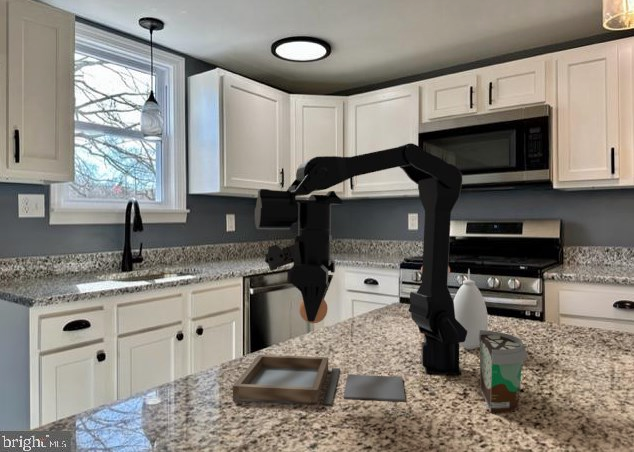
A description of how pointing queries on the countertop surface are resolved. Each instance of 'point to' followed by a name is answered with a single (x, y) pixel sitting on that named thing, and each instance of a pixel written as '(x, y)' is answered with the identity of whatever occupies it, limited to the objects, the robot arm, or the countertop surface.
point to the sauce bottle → (470, 312)
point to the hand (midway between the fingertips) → (313, 317)
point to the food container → (500, 370)
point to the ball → (320, 314)
